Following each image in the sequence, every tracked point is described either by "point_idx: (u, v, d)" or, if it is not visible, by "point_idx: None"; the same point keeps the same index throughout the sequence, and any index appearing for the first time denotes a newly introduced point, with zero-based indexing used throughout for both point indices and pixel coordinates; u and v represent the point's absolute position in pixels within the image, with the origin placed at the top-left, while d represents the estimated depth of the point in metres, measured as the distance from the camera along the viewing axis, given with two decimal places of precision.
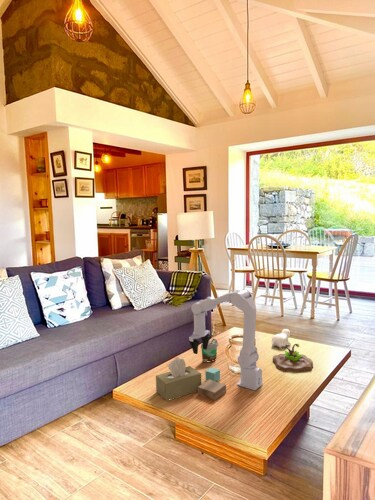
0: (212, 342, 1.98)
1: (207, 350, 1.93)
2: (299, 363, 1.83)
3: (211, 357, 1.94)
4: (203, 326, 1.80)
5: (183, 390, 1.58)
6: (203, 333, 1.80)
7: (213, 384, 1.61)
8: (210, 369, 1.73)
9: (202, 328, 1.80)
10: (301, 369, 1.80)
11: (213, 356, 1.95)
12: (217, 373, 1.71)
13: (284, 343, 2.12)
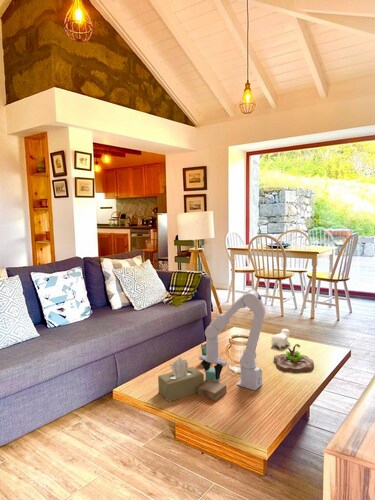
0: None
1: None
2: (299, 363, 1.82)
3: None
4: (208, 351, 1.69)
5: (186, 391, 1.58)
6: (208, 358, 1.70)
7: (214, 384, 1.60)
8: (210, 369, 1.73)
9: (207, 353, 1.70)
10: (301, 370, 1.79)
11: None
12: None
13: (284, 343, 2.12)
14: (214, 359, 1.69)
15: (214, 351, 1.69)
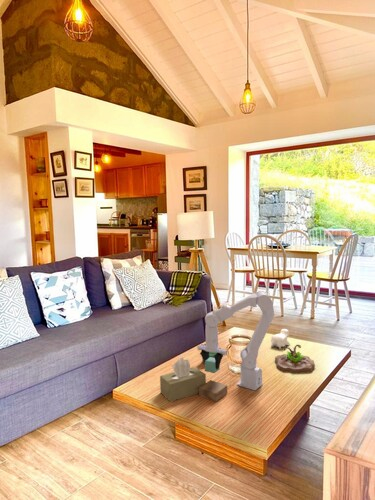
0: None
1: None
2: (299, 364, 1.81)
3: None
4: (208, 340, 1.64)
5: (188, 391, 1.57)
6: (208, 348, 1.65)
7: (215, 385, 1.60)
8: (209, 359, 1.68)
9: (207, 342, 1.65)
10: (301, 370, 1.79)
11: (213, 356, 1.95)
12: None
13: (283, 343, 2.12)
14: (214, 348, 1.64)
15: (215, 340, 1.64)
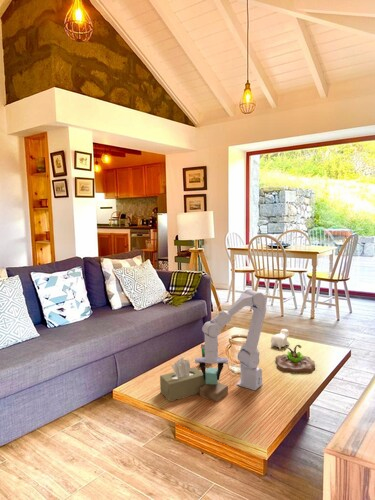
0: None
1: None
2: (299, 364, 1.81)
3: None
4: (210, 351, 1.55)
5: (187, 391, 1.57)
6: (210, 359, 1.56)
7: (215, 385, 1.60)
8: (208, 370, 1.60)
9: (208, 353, 1.56)
10: (300, 371, 1.78)
11: None
12: (217, 373, 1.60)
13: (283, 343, 2.12)
14: (216, 358, 1.56)
15: (217, 349, 1.56)
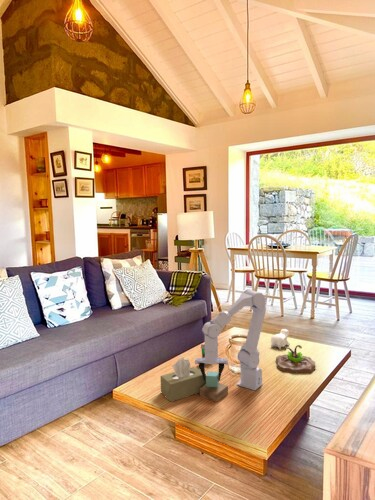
0: None
1: None
2: (299, 365, 1.81)
3: None
4: (210, 352, 1.55)
5: (188, 391, 1.57)
6: (210, 360, 1.56)
7: None
8: (209, 373, 1.61)
9: (208, 354, 1.56)
10: (300, 371, 1.78)
11: None
12: None
13: (283, 343, 2.11)
14: (216, 359, 1.56)
15: (217, 350, 1.57)
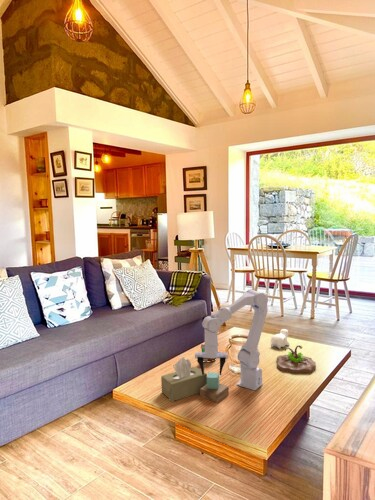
0: None
1: None
2: (299, 365, 1.80)
3: None
4: (210, 346, 1.55)
5: (189, 391, 1.58)
6: (210, 354, 1.55)
7: None
8: (209, 374, 1.59)
9: (208, 348, 1.55)
10: (300, 371, 1.78)
11: None
12: (218, 377, 1.59)
13: (283, 343, 2.11)
14: (216, 353, 1.56)
15: (216, 344, 1.56)
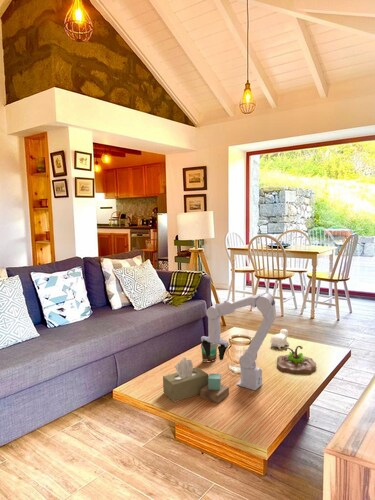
0: None
1: None
2: (299, 365, 1.80)
3: (211, 357, 1.94)
4: (210, 331, 1.70)
5: (191, 391, 1.57)
6: (210, 339, 1.71)
7: None
8: (211, 375, 1.58)
9: (209, 333, 1.71)
10: (299, 372, 1.77)
11: (213, 356, 1.95)
12: (220, 378, 1.58)
13: (283, 343, 2.11)
14: (216, 339, 1.70)
15: (215, 331, 1.69)
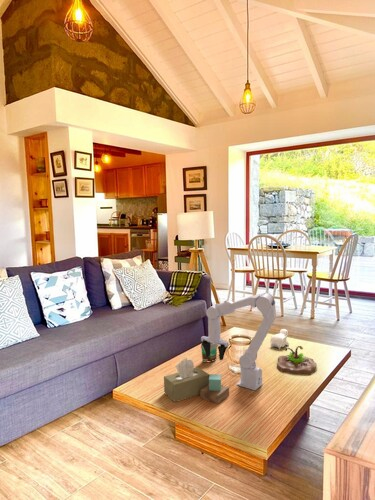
0: None
1: None
2: (299, 365, 1.80)
3: (211, 357, 1.94)
4: (210, 331, 1.70)
5: (192, 391, 1.57)
6: (210, 339, 1.71)
7: None
8: (211, 376, 1.57)
9: (209, 333, 1.71)
10: (299, 372, 1.77)
11: (213, 356, 1.95)
12: None
13: (283, 343, 2.11)
14: (216, 339, 1.70)
15: (215, 331, 1.69)
